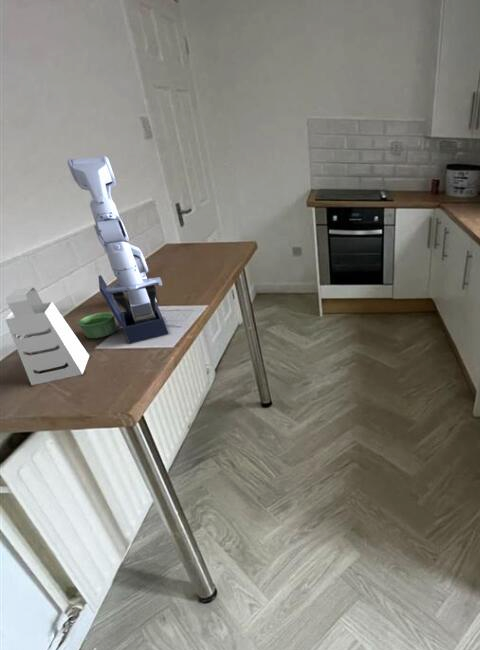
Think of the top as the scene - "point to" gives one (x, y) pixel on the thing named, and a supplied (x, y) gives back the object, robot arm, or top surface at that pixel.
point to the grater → (43, 338)
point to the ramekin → (98, 325)
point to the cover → (110, 301)
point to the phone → (142, 313)
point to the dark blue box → (143, 327)
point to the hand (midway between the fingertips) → (143, 314)
